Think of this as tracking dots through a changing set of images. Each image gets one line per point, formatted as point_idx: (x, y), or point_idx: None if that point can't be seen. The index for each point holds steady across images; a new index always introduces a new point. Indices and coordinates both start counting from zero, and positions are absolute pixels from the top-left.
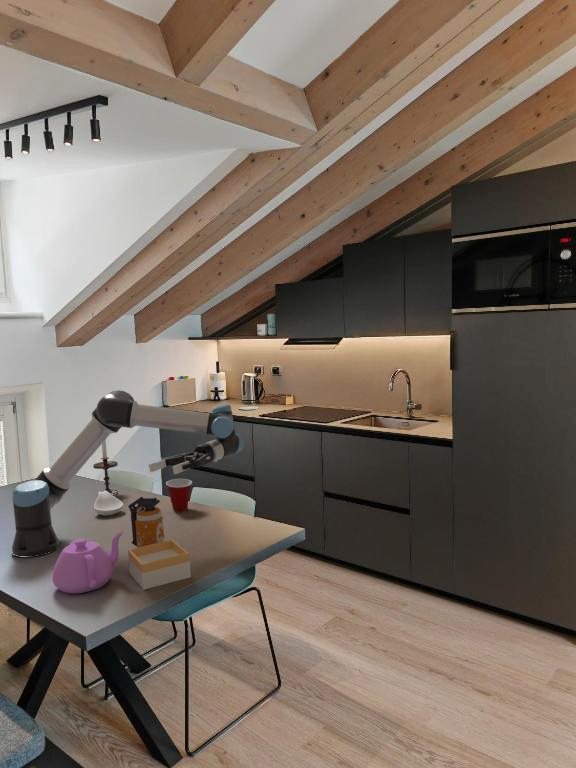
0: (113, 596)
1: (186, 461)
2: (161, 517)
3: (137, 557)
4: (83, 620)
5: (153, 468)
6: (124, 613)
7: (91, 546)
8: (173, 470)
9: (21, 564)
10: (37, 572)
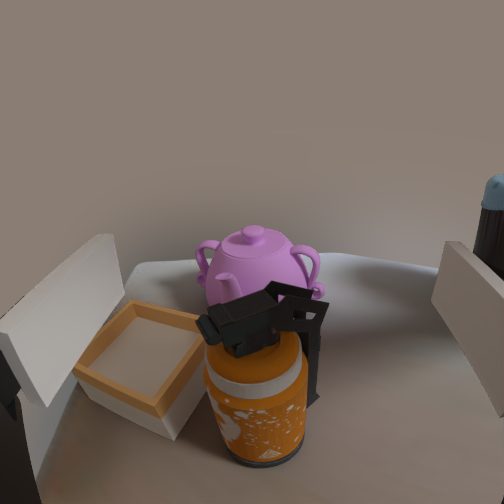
0: (176, 307)
1: (16, 321)
2: (216, 390)
3: (163, 310)
4: (164, 270)
5: (448, 294)
6: (127, 294)
7: (238, 249)
8: (114, 265)
9: (430, 278)
10: (376, 283)
